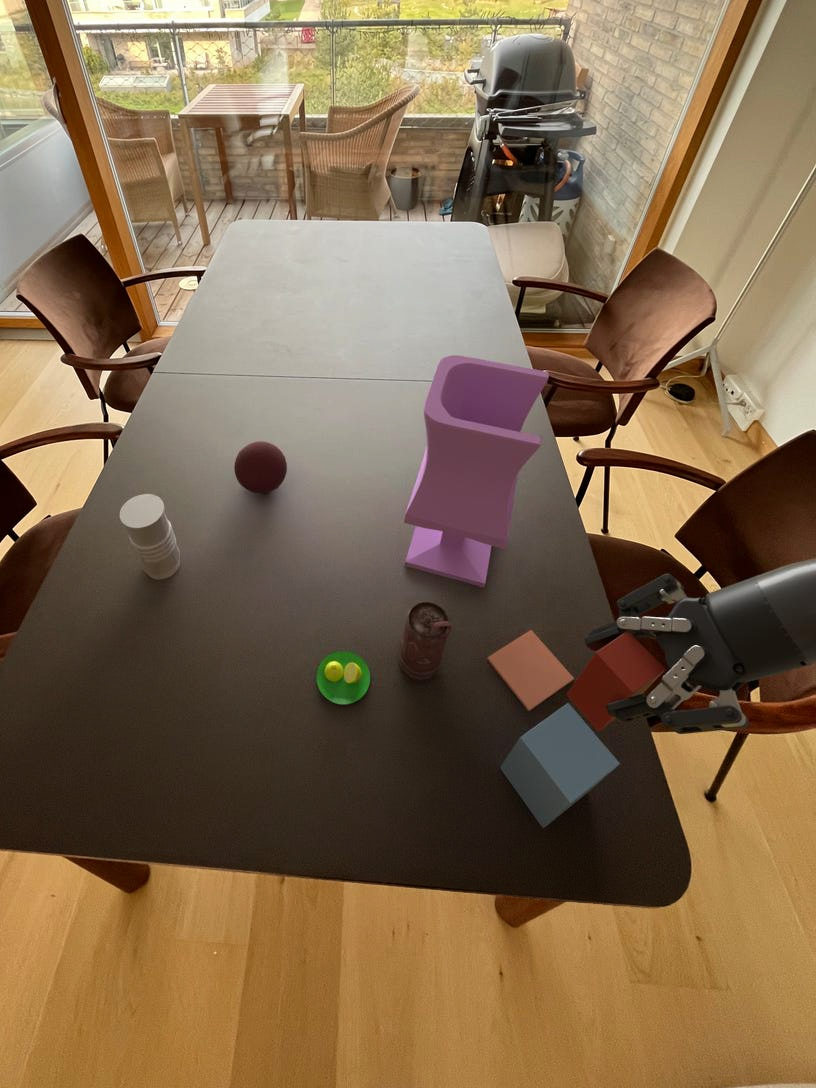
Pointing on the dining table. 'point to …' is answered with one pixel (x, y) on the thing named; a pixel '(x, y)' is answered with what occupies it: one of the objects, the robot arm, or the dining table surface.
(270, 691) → the dining table surface
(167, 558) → the white ridged cylinder
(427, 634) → the brown drink cup
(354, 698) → the green plate with lemons
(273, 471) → the decorative ball
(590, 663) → the red post
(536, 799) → the blue stand
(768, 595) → the robot arm
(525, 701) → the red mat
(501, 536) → the vase
